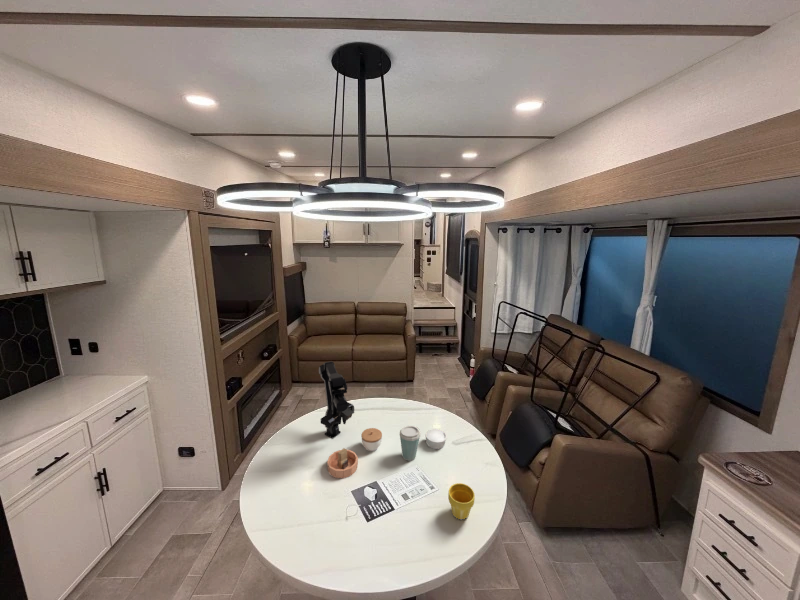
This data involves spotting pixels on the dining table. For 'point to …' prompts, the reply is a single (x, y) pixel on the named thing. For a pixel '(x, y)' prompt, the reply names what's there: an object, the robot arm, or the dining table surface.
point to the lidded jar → (371, 438)
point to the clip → (345, 464)
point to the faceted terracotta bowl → (338, 472)
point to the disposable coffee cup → (409, 442)
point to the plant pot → (461, 500)
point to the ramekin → (435, 438)
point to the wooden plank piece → (342, 457)
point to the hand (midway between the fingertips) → (338, 428)
